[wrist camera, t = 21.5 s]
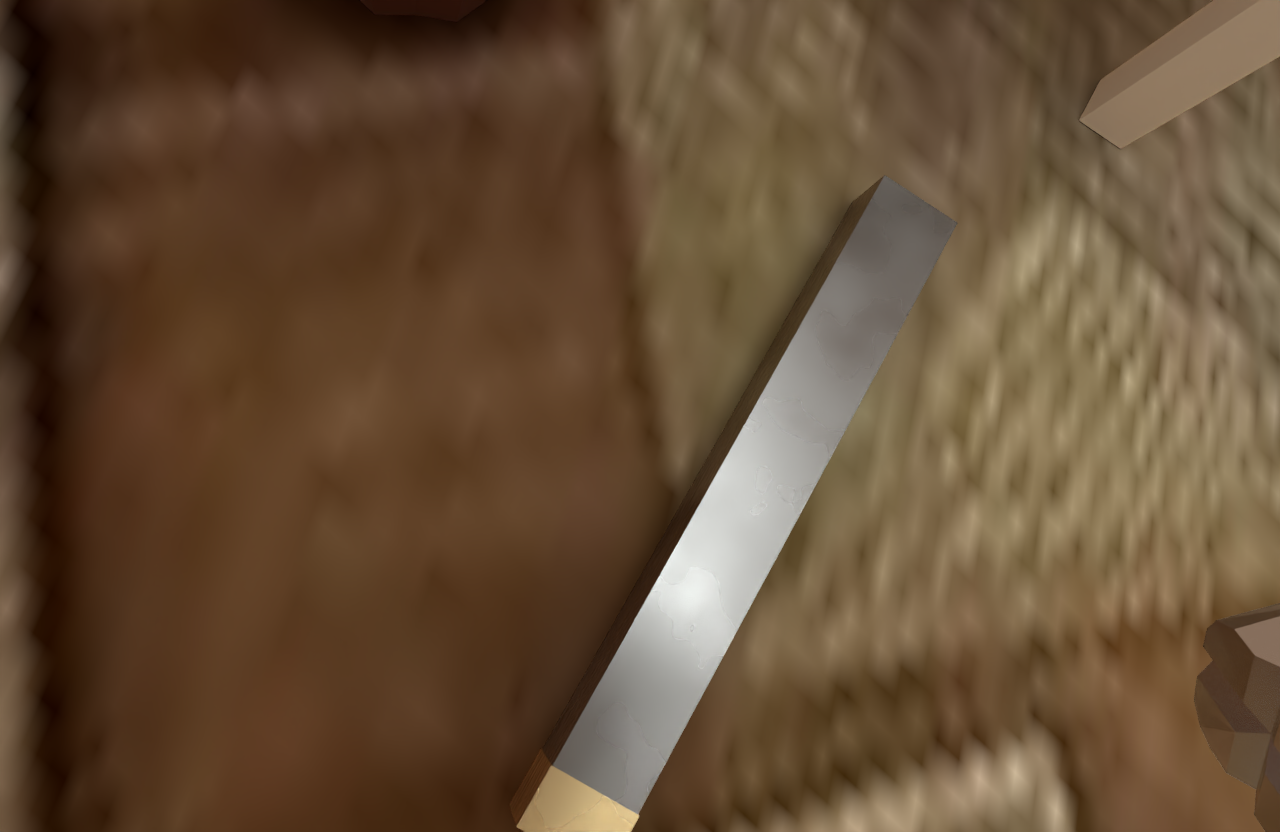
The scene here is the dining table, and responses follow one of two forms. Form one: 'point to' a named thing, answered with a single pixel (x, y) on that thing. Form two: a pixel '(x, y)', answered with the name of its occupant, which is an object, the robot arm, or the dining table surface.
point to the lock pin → (733, 521)
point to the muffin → (424, 8)
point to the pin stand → (1184, 68)
